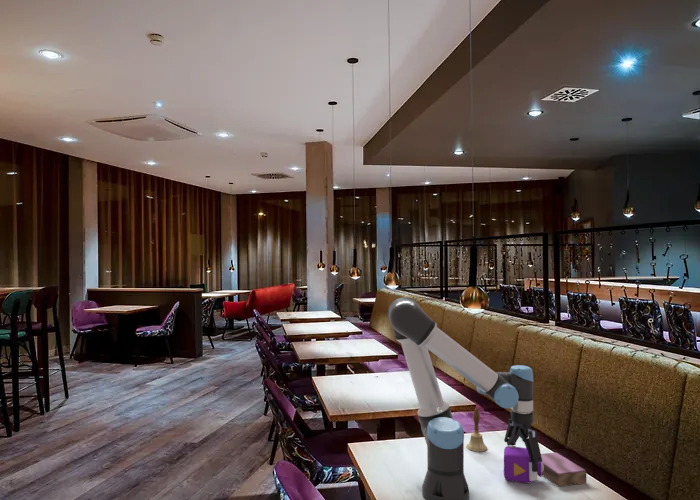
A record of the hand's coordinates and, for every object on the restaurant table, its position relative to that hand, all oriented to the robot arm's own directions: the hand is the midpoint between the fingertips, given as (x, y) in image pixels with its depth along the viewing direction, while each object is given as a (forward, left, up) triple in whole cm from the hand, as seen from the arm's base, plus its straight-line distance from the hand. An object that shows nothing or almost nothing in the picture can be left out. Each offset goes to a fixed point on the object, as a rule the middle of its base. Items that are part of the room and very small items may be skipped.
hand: (522, 472), depth 172 cm
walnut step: (+13, -1, -2) cm, 14 cm away
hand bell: (-3, +28, -2) cm, 28 cm away
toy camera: (0, 0, -2) cm, 2 cm away
